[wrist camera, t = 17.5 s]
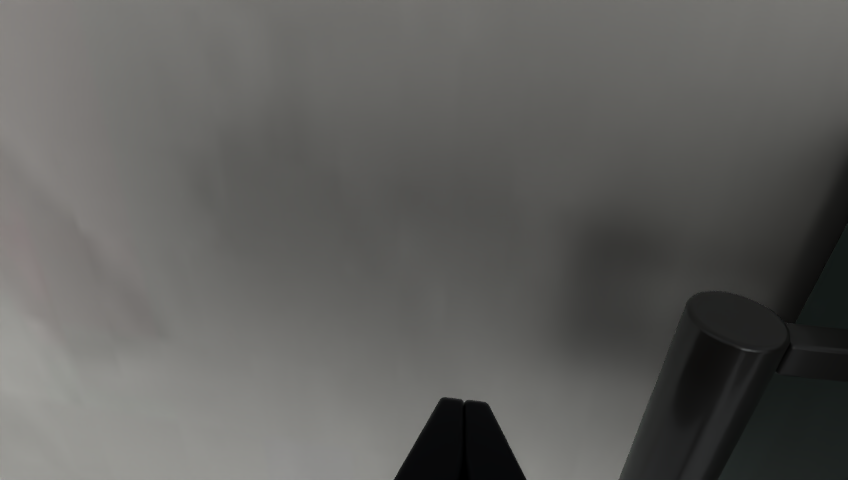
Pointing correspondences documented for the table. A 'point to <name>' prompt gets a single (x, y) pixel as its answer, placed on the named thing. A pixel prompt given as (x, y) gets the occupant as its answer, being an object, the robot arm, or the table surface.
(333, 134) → the table surface
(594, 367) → the table surface
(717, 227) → the table surface
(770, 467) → the drawer
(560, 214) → the table surface
